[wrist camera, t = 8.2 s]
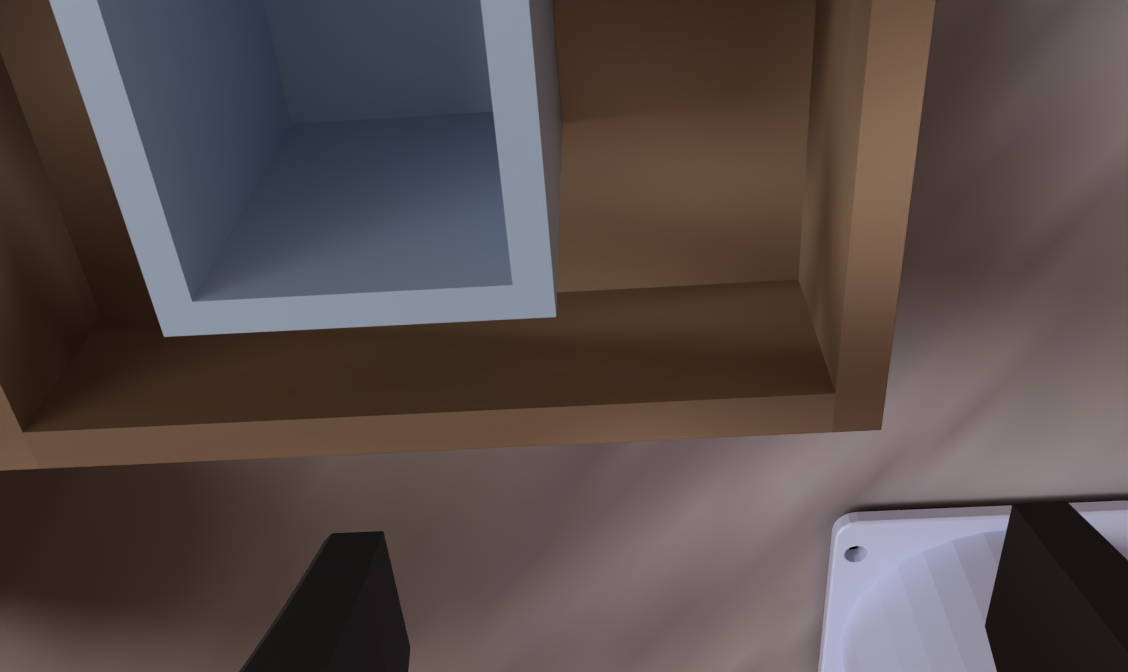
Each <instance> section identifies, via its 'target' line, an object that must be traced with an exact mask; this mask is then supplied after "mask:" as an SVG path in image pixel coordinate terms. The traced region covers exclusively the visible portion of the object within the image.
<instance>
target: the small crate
mask: <svg viewBox="0 0 1128 672" xmlns="http://www.w3.org/2000/svg"><path fill="white" fill-rule="evenodd" d="M49 1H50V4H51V7H52V10H53V13H54V16H55V19H56V22H57V25H58V28H59V30H60V33H61V36H62V39H63V42H64V45H65V48H66V51H67V54H68V57H69V60H70V63H71V66H72V69H73V72H74V74H75V77H76V80H77V83H78V86H79V89H80V92H81V95H82V98H83V101H84V104H85V107H86V110H87V113H88V116H89V118H90V121H91V124H92V127H93V130H94V133H95V136H96V139H97V142H98V145H99V148H100V151H101V154H102V157H103V159H104V162H105V165H106V168H107V171H108V174H109V177H110V180H111V183H112V186H113V189H114V192H115V195H116V198H117V201H118V203H119V206H120V209H121V212H122V215H123V218H124V221H125V224H126V227H127V230H128V233H129V236H130V239H131V242H132V244H133V247H134V250H135V253H136V256H137V259H138V262H139V265H140V268H141V271H142V274H143V277H144V280H145V283H146V286H147V288H148V291H149V294H150V297H151V300H152V303H153V306H154V309H155V312H156V315H157V318H158V321H159V324H160V327H161V330H162V332H163V335H164V337H171V336H191V335H211V334H231V333H251V332H270V331H290V330H310V329H330V328H349V327H369V326H389V325H409V324H429V323H448V322H468V321H488V320H508V319H527V318H547V317H556V310H557V279H558V248H559V217H560V186H561V155H562V110H561V97H560V83H559V70H558V56H557V43H556V29H555V15H554V2H553V0H49Z"/></svg>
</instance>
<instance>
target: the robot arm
mask: <svg viewBox="0 0 1128 672" xmlns="http://www.w3.org/2000/svg"><path fill="white" fill-rule="evenodd" d="M854 546H860V547H858V548H857V549H853V550H849V548H850V547H854ZM409 655H410V644H409V640H408V636H407V631H406V627H405V623H404V618H403V614H402V610H401V605H400V601H399V597H398V592H397V588H396V584H395V579H394V575H393V571H392V566H391V562H390V558H389V553H388V549H387V545H386V540H385V536H384V532H383V531H379V532H355V533H332V534H331V535H330V536H329V537H328V538H327V539H326V540H325V541H324V543H323V544H322V546H321V547H320V549H319V551H318V552H317V554H316V556H315V557H314V559H313V561H312V562H311V564H310V566H309V567H308V569H307V570H306V572H305V574H304V575H303V577H302V579H301V580H300V582H299V583H298V585H297V587H296V588H295V590H294V591H293V593H292V594H291V596H290V598H289V599H288V601H287V602H286V604H285V605H284V607H283V608H282V610H281V611H280V613H279V614H278V616H277V617H276V619H275V621H274V622H273V624H272V625H271V627H270V628H269V630H268V631H267V633H266V634H265V636H264V637H263V638H262V640H261V641H260V643H259V644H258V646H257V647H256V648H255V650H254V651H253V653H252V654H251V656H250V657H249V658H248V660H247V661H246V663H245V664H244V666H243V667H242V669H241V670H240V671H239V672H408V667H409ZM818 672H1128V500H1127V501H1103V502H1080V503H1068V502H1061V503H1038V504H1014V505H1009V506H986V507H962V508H938V509H915V510H891V511H868V512H853V513H848V514H846V515H844V516H842V517H840V518H839V519H838V520H837V521H836V522H835V523H834V526H833V529H832V538H831V548H830V558H829V568H828V578H827V588H826V598H825V608H824V618H823V628H822V638H821V648H820V657H819V667H818Z"/></svg>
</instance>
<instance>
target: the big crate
mask: <svg viewBox="0 0 1128 672" xmlns="http://www.w3.org/2000/svg"><path fill="white" fill-rule="evenodd" d="M553 2H554V15H555V29H556V43H557V56H558V70H559V83H560V97H561V110H562V155H561V186H560V217H559V248H558V279H557V310H556V317H547V318H527V319H508V320H488V321H468V322H448V323H429V324H409V325H389V326H369V327H349V328H330V329H310V330H290V331H270V332H251V333H231V334H211V335H191V336H171V337H164V335H163V332H162V330H161V327H160V324H159V321H158V318H157V315H156V312H155V309H154V306H153V303H152V300H151V297H150V294H149V291H148V288H147V286H146V283H145V280H144V277H143V274H142V271H141V268H140V265H139V262H138V259H137V256H136V253H135V250H134V247H133V244H132V242H131V239H130V236H129V233H128V230H127V227H126V224H125V221H124V218H123V215H122V212H121V209H120V206H119V203H118V201H117V198H116V195H115V192H114V189H113V186H112V183H111V180H110V177H109V174H108V171H107V168H106V165H105V162H104V159H103V157H102V154H101V151H100V148H99V145H98V142H97V139H96V136H95V133H94V130H93V127H92V124H91V121H90V118H89V116H88V113H87V110H86V107H85V104H84V101H83V98H82V95H81V92H80V89H79V86H78V83H77V80H76V77H75V74H74V72H73V69H72V66H71V63H70V60H69V57H68V54H67V51H66V48H65V45H64V42H63V39H62V36H61V33H60V30H59V28H58V25H57V22H56V19H55V16H54V13H53V10H52V7H51V4H50V1H49V0H0V471H2V470H24V469H46V468H67V467H89V466H111V465H132V464H154V463H176V462H197V461H219V460H241V459H262V458H284V457H305V456H327V455H349V454H370V453H392V452H414V451H435V450H457V449H479V448H500V447H522V446H544V445H565V444H587V443H609V442H630V441H652V440H674V439H695V438H717V437H739V436H760V435H782V434H804V433H825V432H847V431H869V430H881V427H882V419H883V412H884V404H885V396H886V388H887V380H888V372H889V364H890V356H891V349H892V341H893V333H894V325H895V317H896V309H897V301H898V293H899V286H900V278H901V270H902V262H903V254H904V246H905V238H906V231H907V223H908V215H909V207H910V199H911V191H912V183H913V175H914V168H915V160H916V152H917V144H918V136H919V128H920V120H921V112H922V105H923V97H924V89H925V81H926V73H927V65H928V57H929V50H930V42H931V34H932V26H933V18H934V10H935V2H936V0H553Z"/></svg>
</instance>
